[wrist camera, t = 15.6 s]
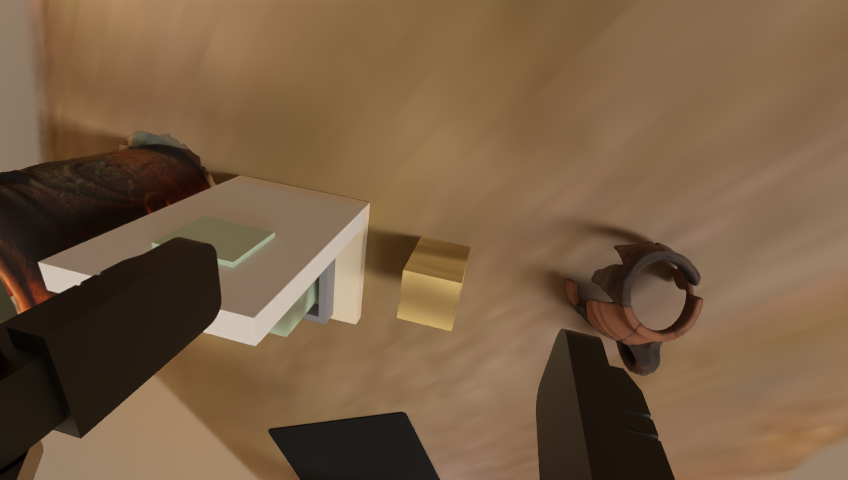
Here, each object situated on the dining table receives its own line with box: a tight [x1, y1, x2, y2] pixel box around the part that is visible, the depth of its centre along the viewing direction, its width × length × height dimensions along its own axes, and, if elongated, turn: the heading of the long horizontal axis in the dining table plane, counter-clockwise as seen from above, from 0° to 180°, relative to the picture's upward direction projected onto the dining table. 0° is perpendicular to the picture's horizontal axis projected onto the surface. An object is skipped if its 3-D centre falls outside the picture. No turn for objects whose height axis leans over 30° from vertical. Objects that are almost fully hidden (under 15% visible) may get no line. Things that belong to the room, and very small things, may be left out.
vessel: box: [0, 132, 217, 324], centre depth 35 cm, size 14×14×20 cm
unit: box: [38, 175, 370, 346], centre depth 34 cm, size 14×14×20 cm
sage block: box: [269, 275, 320, 337], centre depth 40 cm, size 5×5×7 cm
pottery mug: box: [566, 242, 703, 376], centre depth 35 cm, size 12×10×8 cm
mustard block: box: [397, 237, 470, 331], centre depth 37 cm, size 5×5×7 cm
